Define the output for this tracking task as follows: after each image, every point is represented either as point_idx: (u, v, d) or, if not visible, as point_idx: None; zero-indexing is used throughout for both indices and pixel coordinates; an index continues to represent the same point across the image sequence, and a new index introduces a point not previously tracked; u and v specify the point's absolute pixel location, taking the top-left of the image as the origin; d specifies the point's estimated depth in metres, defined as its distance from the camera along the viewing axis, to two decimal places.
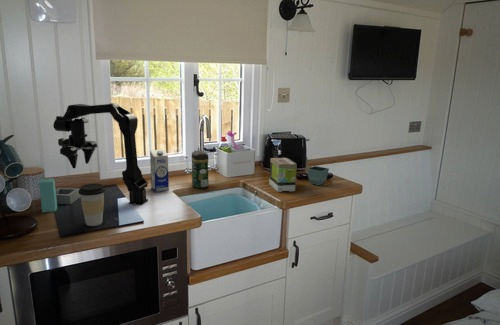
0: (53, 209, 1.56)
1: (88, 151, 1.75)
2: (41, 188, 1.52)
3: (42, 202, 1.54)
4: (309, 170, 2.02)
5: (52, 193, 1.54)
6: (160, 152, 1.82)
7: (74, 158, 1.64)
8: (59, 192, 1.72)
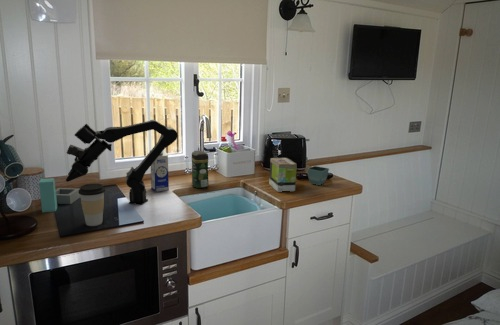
0: (53, 209, 1.56)
1: None
2: (41, 188, 1.52)
3: (42, 202, 1.54)
4: (309, 170, 2.02)
5: (52, 193, 1.54)
6: None
7: (78, 176, 1.53)
8: (59, 192, 1.72)
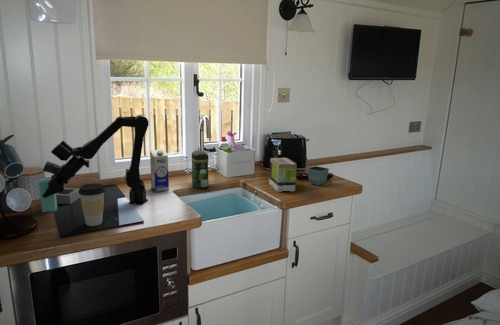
0: (53, 209, 1.56)
1: None
2: (41, 188, 1.52)
3: (42, 202, 1.54)
4: (309, 170, 2.02)
5: None
6: (160, 152, 1.82)
7: (55, 192, 1.53)
8: None
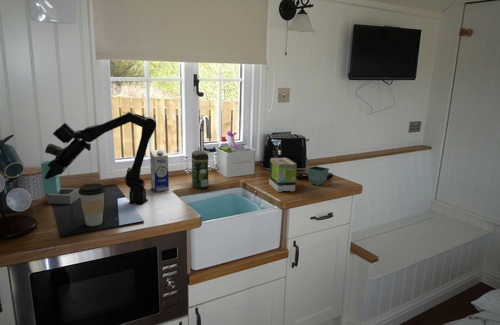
0: (55, 191, 1.58)
1: None
2: (43, 170, 1.55)
3: (44, 184, 1.56)
4: (309, 170, 2.02)
5: None
6: (160, 152, 1.82)
7: (56, 173, 1.55)
8: (59, 192, 1.72)
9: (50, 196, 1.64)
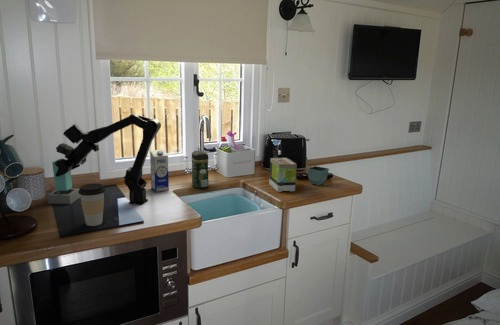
0: (65, 188, 1.66)
1: (72, 165, 1.69)
2: (54, 168, 1.64)
3: (55, 181, 1.65)
4: (309, 170, 2.02)
5: None
6: (160, 152, 1.82)
7: None
8: (59, 192, 1.72)
9: (50, 196, 1.64)
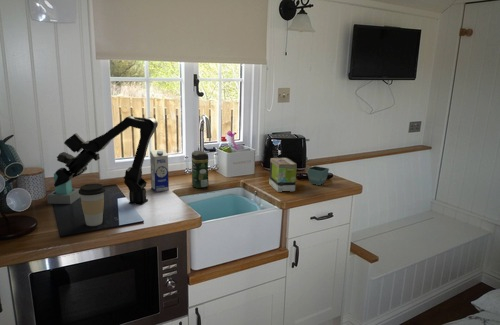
0: None
1: None
2: (55, 179, 1.65)
3: (56, 192, 1.66)
4: (309, 170, 2.02)
5: (64, 185, 1.65)
6: (160, 152, 1.82)
7: (63, 182, 1.61)
8: None
9: (50, 196, 1.64)
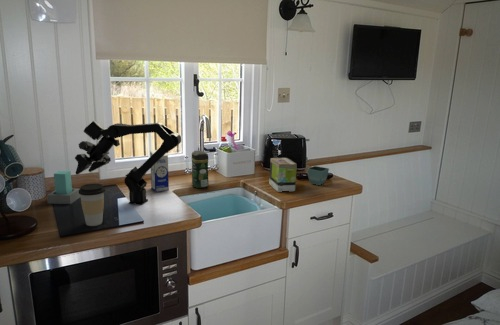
0: None
1: (98, 163, 1.71)
2: (55, 179, 1.65)
3: (56, 192, 1.66)
4: (309, 170, 2.02)
5: (64, 185, 1.65)
6: None
7: (83, 168, 1.60)
8: None
9: (50, 196, 1.64)
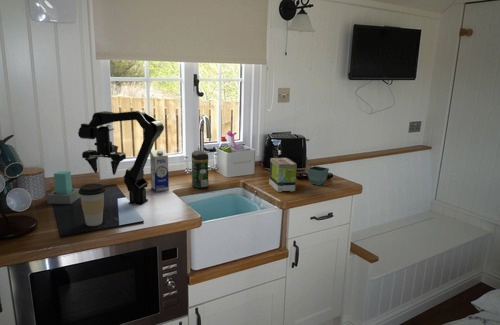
0: None
1: None
2: (55, 179, 1.65)
3: (56, 192, 1.66)
4: (309, 170, 2.02)
5: (64, 185, 1.65)
6: (160, 152, 1.82)
7: None
8: None
9: (50, 196, 1.64)
